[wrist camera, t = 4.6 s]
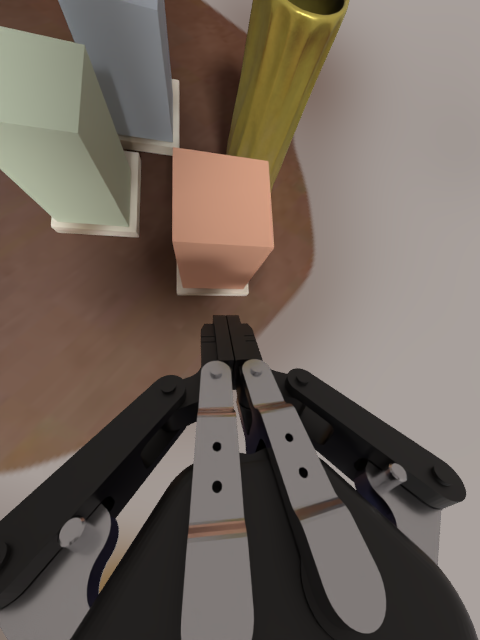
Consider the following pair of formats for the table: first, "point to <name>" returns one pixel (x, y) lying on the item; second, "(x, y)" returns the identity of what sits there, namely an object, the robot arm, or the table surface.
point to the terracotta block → (220, 218)
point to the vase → (280, 74)
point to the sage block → (60, 131)
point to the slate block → (128, 61)
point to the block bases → (134, 218)
